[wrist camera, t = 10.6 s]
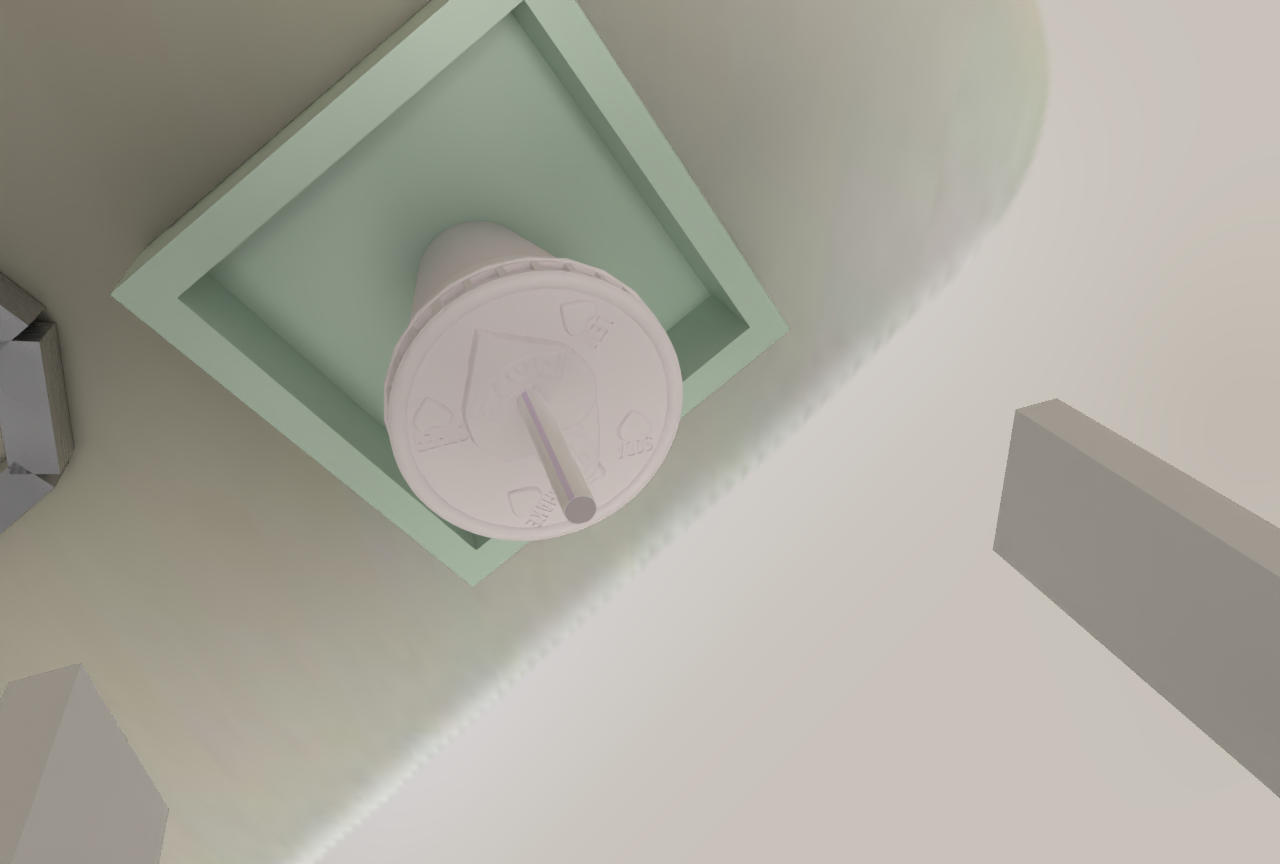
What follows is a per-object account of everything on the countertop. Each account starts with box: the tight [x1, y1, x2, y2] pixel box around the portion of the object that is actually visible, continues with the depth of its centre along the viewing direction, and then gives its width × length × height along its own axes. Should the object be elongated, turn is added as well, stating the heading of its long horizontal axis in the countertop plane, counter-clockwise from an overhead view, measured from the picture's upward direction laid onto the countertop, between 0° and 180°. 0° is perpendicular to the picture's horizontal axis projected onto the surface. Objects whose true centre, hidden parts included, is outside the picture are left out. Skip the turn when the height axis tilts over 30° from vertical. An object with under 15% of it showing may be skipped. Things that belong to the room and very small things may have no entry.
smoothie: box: [384, 221, 683, 541], centre depth 20 cm, size 6×6×14 cm
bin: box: [110, 0, 790, 587], centre depth 25 cm, size 13×13×4 cm
